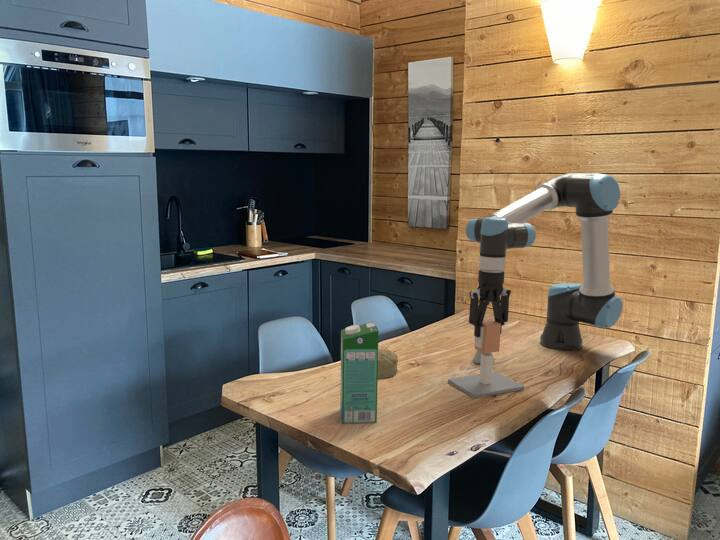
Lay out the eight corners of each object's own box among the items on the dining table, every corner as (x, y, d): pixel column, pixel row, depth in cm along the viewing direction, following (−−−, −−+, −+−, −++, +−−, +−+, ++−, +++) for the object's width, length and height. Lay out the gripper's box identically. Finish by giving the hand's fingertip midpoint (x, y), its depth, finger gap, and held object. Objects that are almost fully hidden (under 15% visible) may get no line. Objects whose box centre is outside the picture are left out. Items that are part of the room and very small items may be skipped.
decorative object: (399, 384, 195) (403, 354, 199) (390, 376, 187) (394, 345, 191) (372, 382, 199) (376, 353, 203) (362, 374, 190) (366, 344, 194)
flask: (494, 365, 204) (495, 337, 202) (472, 364, 205) (473, 335, 203) (494, 359, 211) (495, 331, 209) (472, 357, 212) (474, 329, 210)
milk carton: (340, 409, 167) (341, 321, 162) (373, 408, 167) (374, 320, 163) (342, 423, 158) (343, 330, 153) (376, 422, 158) (378, 330, 154)
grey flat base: (495, 374, 195) (497, 344, 194) (523, 389, 183) (526, 357, 181) (447, 382, 188) (449, 351, 186) (474, 398, 176) (476, 365, 174)
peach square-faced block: (488, 346, 187) (490, 319, 185) (499, 351, 182) (500, 323, 181) (474, 348, 185) (476, 320, 183) (484, 353, 180) (486, 325, 178)
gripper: (508, 266, 186) (503, 339, 190) (458, 269, 179) (454, 345, 183) (524, 270, 179) (519, 346, 184) (473, 274, 172) (469, 353, 176)
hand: (487, 345), depth 183 cm, fingers closed on peach square-faced block, 5 cm apart
